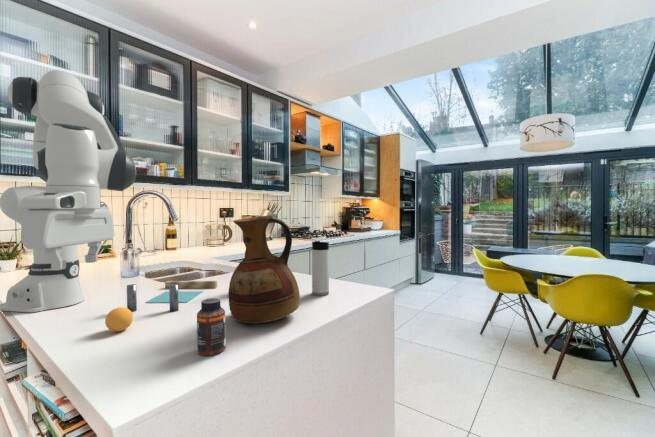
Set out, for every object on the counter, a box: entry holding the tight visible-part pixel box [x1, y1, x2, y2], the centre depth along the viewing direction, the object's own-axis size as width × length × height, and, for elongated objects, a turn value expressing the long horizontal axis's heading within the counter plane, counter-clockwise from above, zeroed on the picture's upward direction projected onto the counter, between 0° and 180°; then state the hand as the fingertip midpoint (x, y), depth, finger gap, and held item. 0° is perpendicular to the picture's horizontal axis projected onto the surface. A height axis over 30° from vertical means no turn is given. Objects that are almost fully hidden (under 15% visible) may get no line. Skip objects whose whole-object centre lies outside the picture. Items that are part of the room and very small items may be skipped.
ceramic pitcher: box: [227, 214, 301, 324], centre depth 90 cm, size 20×20×30 cm
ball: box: [104, 306, 134, 333], centre depth 81 cm, size 6×6×6 cm
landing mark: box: [144, 290, 203, 304], centre depth 112 cm, size 14×14×1 cm
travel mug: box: [311, 240, 330, 297], centre depth 115 cm, size 6×7×20 cm
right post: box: [168, 284, 180, 313], centre depth 97 cm, size 2×2×8 cm
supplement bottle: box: [196, 297, 227, 356], centre depth 69 cm, size 6×6×11 cm
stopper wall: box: [164, 280, 218, 289], centre depth 125 cm, size 20×2×2 cm, turn 91°
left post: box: [126, 283, 138, 313], centre depth 96 cm, size 2×2×8 cm
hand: (76, 265), depth 66 cm, fingers open, 7 cm apart
